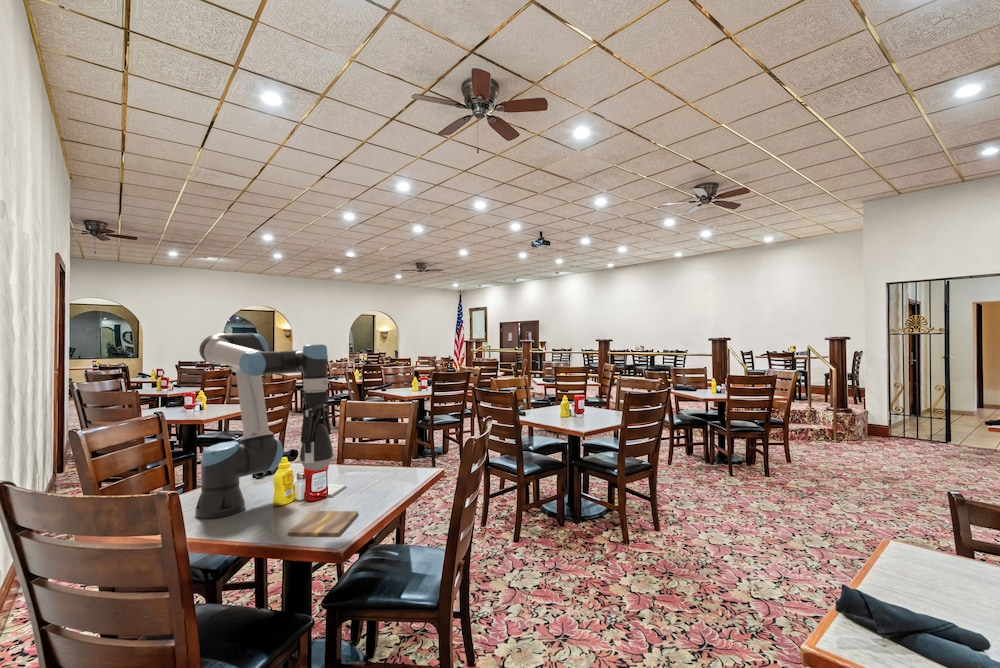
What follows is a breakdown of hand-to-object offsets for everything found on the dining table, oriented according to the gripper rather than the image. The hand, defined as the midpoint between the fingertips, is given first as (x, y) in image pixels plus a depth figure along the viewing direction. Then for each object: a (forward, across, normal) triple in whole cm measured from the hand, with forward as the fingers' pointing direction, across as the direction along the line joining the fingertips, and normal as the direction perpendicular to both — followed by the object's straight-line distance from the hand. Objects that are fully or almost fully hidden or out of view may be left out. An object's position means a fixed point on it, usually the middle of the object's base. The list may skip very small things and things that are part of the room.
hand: (316, 458), depth 156 cm
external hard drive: (+22, +33, +10) cm, 40 cm away
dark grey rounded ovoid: (+3, 0, 0) cm, 3 cm away
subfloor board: (+22, 0, -2) cm, 22 cm away
